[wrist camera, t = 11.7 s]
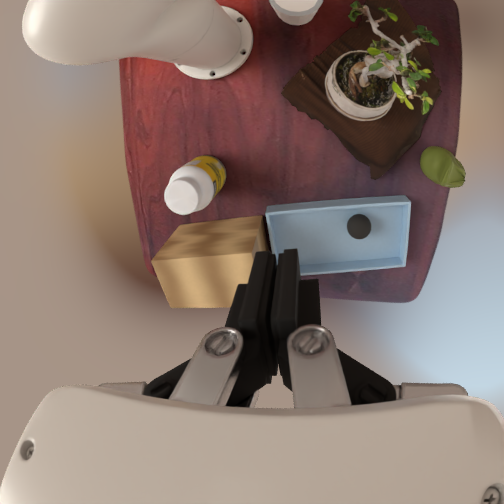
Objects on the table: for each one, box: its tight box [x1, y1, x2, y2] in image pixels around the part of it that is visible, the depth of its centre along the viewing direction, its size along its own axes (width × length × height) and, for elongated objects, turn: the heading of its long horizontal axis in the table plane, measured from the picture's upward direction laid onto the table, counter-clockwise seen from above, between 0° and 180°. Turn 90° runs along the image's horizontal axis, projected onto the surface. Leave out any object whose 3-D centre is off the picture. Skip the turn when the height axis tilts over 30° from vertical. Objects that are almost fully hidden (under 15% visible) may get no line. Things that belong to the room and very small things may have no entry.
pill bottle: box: [164, 155, 226, 215], centre depth 39 cm, size 6×6×12 cm
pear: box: [420, 146, 466, 188], centre depth 32 cm, size 6×5×10 cm
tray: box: [265, 195, 411, 275], centre depth 45 cm, size 23×12×3 cm, turn 100°
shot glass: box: [269, 0, 323, 25], centre depth 25 cm, size 7×7×7 cm
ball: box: [347, 214, 371, 239], centre depth 42 cm, size 4×4×4 cm
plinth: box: [151, 215, 269, 308], centre depth 45 cm, size 15×9×12 cm, turn 100°
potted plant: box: [281, 0, 442, 180], centre depth 25 cm, size 20×19×25 cm
